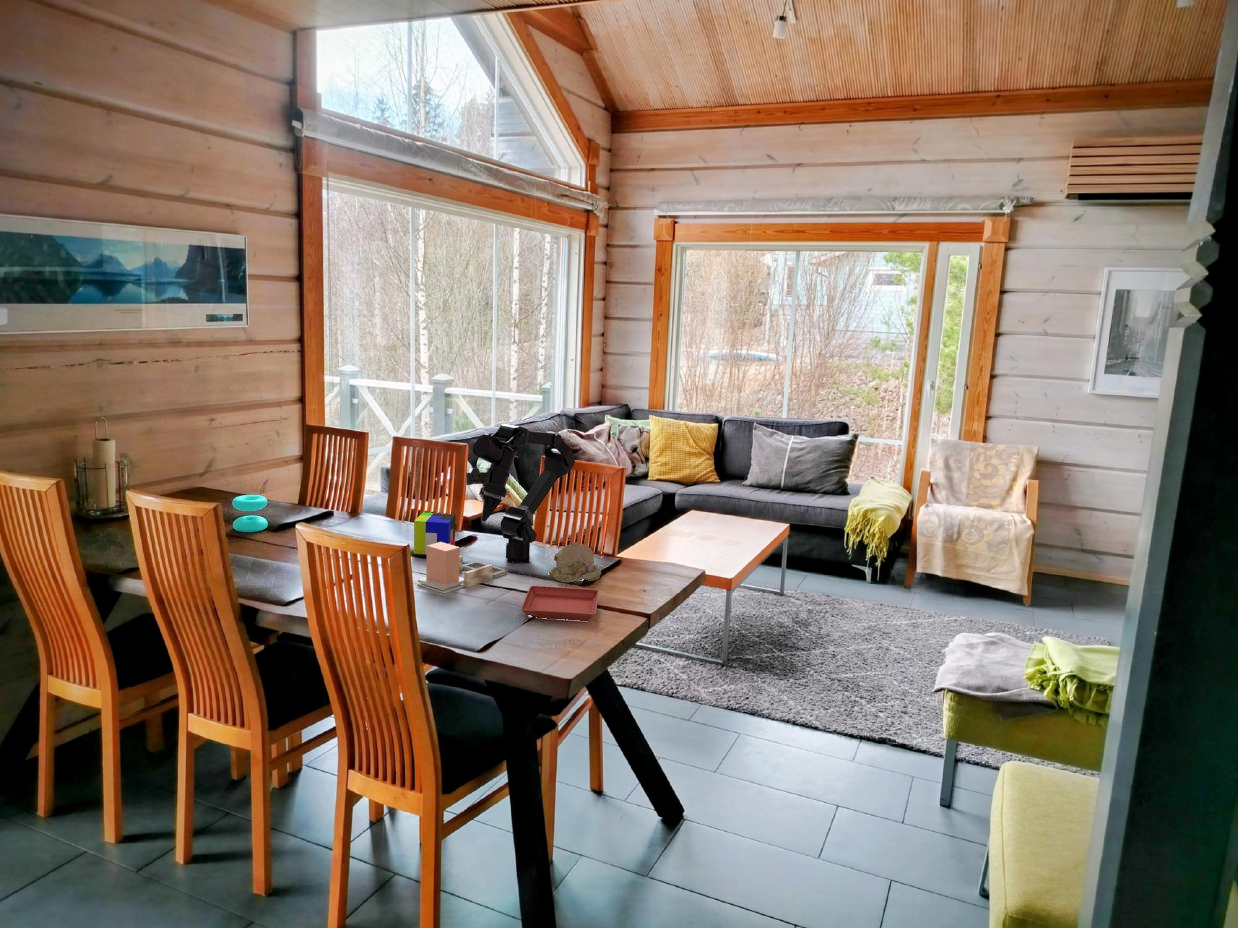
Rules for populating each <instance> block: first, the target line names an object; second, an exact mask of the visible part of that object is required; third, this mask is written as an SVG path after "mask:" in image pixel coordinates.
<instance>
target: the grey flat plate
mask: <svg viewBox="0 0 1238 928" xmlns="http://www.w3.org/2000/svg"><path fill="white" fill-rule="evenodd" d="M486 565H489V564H487V563H484V562H480V561H478V560H474V561H471V562H468V563H465V564H464V563H463V566H462V570H463V571H465V572H467V571H470V570H474V569H477V568H480V567H483V566H486ZM462 570H461V571H462ZM507 574H508V569H505V568H502V567H498V566H494V565H493V575H492V579H491V580H493V579H496V578H499V577H501V576H504V575H507Z"/></svg>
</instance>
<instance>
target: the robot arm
mask: <svg viewBox="0 0 1238 928" xmlns="http://www.w3.org/2000/svg"><path fill="white" fill-rule="evenodd" d="M529 444H532V445H533V444H534V445H543V449H542V453H543V455H544V457H545V458H544V460H543V470H542V471H541V473H540V474H539V476H538V478H537V479H536V480H535V482H534V484H533V485H532V486H531V487H530V489H529V491H528V492H527V494H526V495H525V496H524V498H523V500H522V501H521V503H520V504H519V505H518V506H513V505H510V506H508V508H507V510H506V512H505V513H504V514H503V515H502V519H501V521H500V530H501V534H502V539H503V538H504V539H507V540H508V541H507V542H506V543H505V559H506V562H507V563H512V562H519V563H518V564H521V563H520V562H525V564H529V562H530V563H531V561H530V559H531V556H530V553H531V552H530V551H531V550H530V548H531V544H532V543H534V542H535V541H536V540H537V535H538V534H537V532H536V531H535V530H534V528H533V525H534V514H535V513H536V512H537V510H538V509H539V507H540V506H541V505H542V503H543V501H544V500H545V498H546V497H547V496H548V494H549V492H550V491H551V489H552V488H553V487H554V485H555V484H556V482H557V480H558V479H560V478H562V477H564V476H566V475H567V474H568V473H569V472H570V471H571V470H572V469H573V467H574V466H575V463H576V458H575V455H574V453H573V451H572V449H571V447H570V446H569V445H568V444H567V443H566V442H565V441H564V440H563V437H562V435H561V434H560V433H559V432H553V431H538V430H530V429H528V428H526V427H523V426H519V425H514V424H507V423H501V424H500V426H499V427H498V428H497V430H495V431H494V432H493V433H492V434H491V435H490V434H489V433H483V434H482V436H481V437H480V438H478V439H477V440H476V441H475V442H474V443H473V445H472V453H473V455H474V457H477V458H479V459H481V460H483V461H486V462H488V463H489V464H490V465H489V468H488V469H487V471H484V472H483V471H480V469H479V468H478V467H477V468H475V467H474V468H472V470H471V472H470V471H469V472H466V473H465V485H466V486H472V485H482V487H481V488H480V490H479V494H478V495H479V496H480V498H481V501H482V511H481V522H487V520H488V519H489V518H490V516H491V515H492V514H493V513H494V511H495V510H496V509H497V508H498V506H500V504H501V502H503V499H505V498H506V495H507V493H508V491H507V488H506V485H507V482H508V479H509V478H510V475H511V474H510V473H511V470H512V467H513V464H514V461H515V458H520V457H521V454H520V452H519V449H518V448H519V447H523V446H527V445H529ZM552 447H554V448H552ZM526 562H527V563H526Z"/></svg>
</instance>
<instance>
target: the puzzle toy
mask: <svg viewBox="0 0 1238 928" xmlns="http://www.w3.org/2000/svg"><path fill="white" fill-rule="evenodd" d="M456 516H457V515H456V514H452V513H450V514H449V513H435V512H422V513H420V515H419V516H418V517H417V518H416V519H414V521H413V522H414V523H413V554H414V555H427V545H431V544H435V543H438V542H443V543H447V544H450V545H454V546H456Z"/></svg>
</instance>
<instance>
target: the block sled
mask: <svg viewBox="0 0 1238 928" xmlns="http://www.w3.org/2000/svg"><path fill="white" fill-rule="evenodd" d="M460 553H461V547H459V546H456V545H455V546H454V545H450V544H447V543H443V542H438V543H435V544H431V545H427V554H426V569H425V570H426V571H425V572H426V573H425V575H426V576H424V577H421V578H418V579H417V583H422V584H425V585H428V586H431V587H434V588H437V589H440V590H445V589H448V588H451V587H454V586H457V585H464V577H461V576H460V571H459V561H460V556H461V555H460Z"/></svg>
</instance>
